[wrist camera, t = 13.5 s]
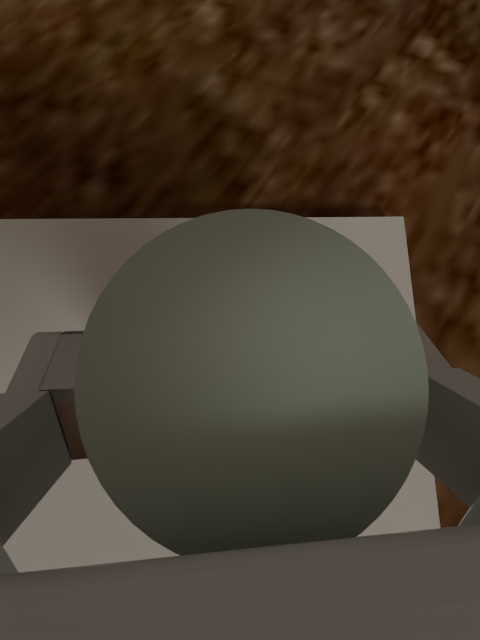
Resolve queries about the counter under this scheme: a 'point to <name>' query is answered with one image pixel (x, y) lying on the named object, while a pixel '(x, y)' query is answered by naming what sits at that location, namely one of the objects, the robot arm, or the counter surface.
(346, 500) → the pale green cylinder
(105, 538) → the card
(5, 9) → the counter surface
